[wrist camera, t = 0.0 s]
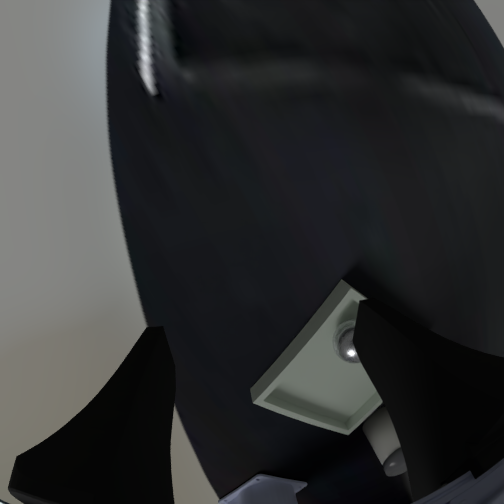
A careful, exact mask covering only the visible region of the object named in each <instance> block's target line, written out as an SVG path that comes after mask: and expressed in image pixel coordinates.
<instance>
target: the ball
mask: <svg viewBox="0 0 504 504" xmlns="http://www.w3.org/2000/svg"><path fill="white" fill-rule="evenodd" d="M355 323H356V318H351V319H348V320H346V321H344V322H342V323H341V324H340V325H339V326H338V327H337V329H336V330H335V332H334V335H333V341H332V343H333V349H334V351H335V353H336V355H337V356H338V357H339V358H340V359H341V360H343V361H345V362H347V363H352V364H355V363H361V362H360V360H359V357H358V355H357V352H356V350H355V347H354V344H353V342H352V339H353V334H354V329H355Z"/></svg>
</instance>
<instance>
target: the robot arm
mask: <svg viewBox="0 0 504 504" xmlns="http://www.w3.org/2000/svg"><path fill="white" fill-rule="evenodd" d="M352 342H353V344H354V347H355V350H356V352H357V355H358V357H359V360H360V362H361V364H362V366H363V368H364V369H365V371H366V373H367V375H368V376H369V378H370V380H371V382H372V383H373V385H374V387H375V389H376V391H377V392H378V394H379V396H380V398H381V399H382V401H383V403H384V405H385V407H386V409H387V411H388V413H389V416H390V418H391V421H392V423H393V426H394V428H395V431H396V434H397V437H398V440H399V443H400V446H401V449H402V452H403V456H404V459H405V463H406V467H407V471H408V476H409V481H410V485H411V491H412V497H413V499H414V501H415V502H414V503H412V504H504V357H499V356H495V355H491V354H487V353H483V352H480V351H477V350H474V349H471V348H468V347H465V346H463V345H460V344H458V343H456V342H453V341H451V340H448V339H446V338H444V337H442V336H440V335H438V334H436V333H434V332H432V331H430V330H428V329H427V328H425V327H423V326H421V325H419V324H418V323H416V322H414V321H412V320H411V319H409V318H407V317H406V316H404V315H402V314H401V313H399V312H397V311H396V310H394V309H392V308H391V307H389V306H387V305H386V304H384V303H382V302H380V301H378V300H377V299H375V298H370V299H364V300H359V306H358V312H357V317H356V323H355V329H354V334H353V339H352ZM175 391H176V379H175V364H174V361H173V358H172V354H171V351H170V348H169V345H168V341H167V338H166V335H165V331H164V328H163V326H159V327H147V328H146V329H145V330H144V332H143V333H142V335H141V336H140V338H139V339H138V341H137V342H136V343H135V345H134V346H133V348H132V349H131V351H130V353H129V354H128V355H127V357H126V358H125V359H124V361H123V362H122V364H121V365H120V366H119V368H118V369H117V370H116V372H115V373H114V374H113V376H112V377H111V378H110V379H109V381H108V382H107V383H106V384H105V386H104V387H103V388H102V389H101V390H100V392H99V393H98V394H97V395H96V396H95V397H94V398H93V399H92V401H90V402H89V403H88V405H87V406H86V407H85V408H84V409H82V410H81V411H80V412H79V413H78V414H77V415H76V416H75V417H73V418H72V419H71V420H70V421H69V422H68V423H67V424H66V425H64V426H63V427H62V428H60V429H59V430H58V431H57V432H55V433H54V434H52V435H51V436H50V437H48V438H47V439H45V440H44V441H43V442H41V443H39V444H38V445H36V446H34V447H33V448H31V449H29V450H27V451H26V452H24V453H22V454H20V455H18V456H17V457H16V460H15V463H14V467H13V470H12V474H11V478H10V482H9V486H8V490H9V492H10V494H11V495H13V496H14V497H15V498H16V499H18V500H19V501H21V502H22V503H24V504H174V497H173V487H172V475H171V456H170V445H171V430H172V420H173V411H174V401H175ZM306 486H307V482H303V481H296V480H291V479H285V478H280V477H275V476H270V475H265V474H257V475H256V476H254V477H253V478H252V479H250V480H249V481H247V482H246V483H244V484H243V485H242V486H240V487H239V488H237V489H236V490H234V491H233V492H231V493H230V494H228V495H227V496H225V497H223V498H222V499H220V500H219V501H218V503H219V504H298V502H297V499H296V495H295V493H296V492H298V491H300V490H301V489H303V488H304V487H306Z"/></svg>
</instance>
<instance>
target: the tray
mask: <svg viewBox="0 0 504 504" xmlns="http://www.w3.org/2000/svg"><path fill="white" fill-rule="evenodd" d="M364 299H368V298H366V297H365V296H364V295H362V294H361V293H360V292H358V291H357V290H356V289H354V288H353V287H352V286H350V285H349V284H348V283H346V282H345V281H343V280H342V279H341V280H340V282H339V283H338V284H337V286H336V287H335V288H334V290H333V291H332V292H331V294H330V295H329V296H328V298H327V299H326V300H325V301H324V303H323V304H322V305H321V307H320V308H319V309H318V310H317V312H316V313H315V314H314V315H313V317H312V318H311V319H310V320H309V322H308V323H307V324H306V325H305V327H304V328H303V329H302V330H301V331H300V333H299V334H298V335H297V336H296V337H295V339H294V340H293V341H292V342H291V343H290V345H289V346H288V347H287V348H286V349H285V350H284V352H283V353H282V354H281V355H280V356H279V357H278V359H277V360H276V361H275V362H274V363H273V364H272V365H271V367H270V368H269V369H268V370H267V371H266V372H265V373H264V375H263V376H262V377H261V378H260V379H259V380H258V381H257V382H256V383H255V384H254V386H253V387H252V388H251V389H250V391H251V396H252V401H253V403H254V404H257V405H259V406H262V407H264V408H267V409H270V410H272V411H275V412H278V413H280V414H283V415H286V416H289V417H291V418H294V419H297V420H300V421H303V422H306V423H309V424H312V425H316V426H319V427H322V428H325V429H329V430H332V431H335V432H339V433H342V434H346V435H349V434H350V433H351V432H352V431H353V430H354V429H355V428H357V427H358V426H359V425H360V424H361V423H362V422H363V421H364V420H365V419H366V418H367V417H368V416H369V415H370V414H371V413H372V412H373V411H374V410H375V409H376V408H377V407H378V406H379V405H380V404H381V403H382V402H383V401H382V399H381V398H380V396H379V394H378V392H377V391H376V389H375V387H374V385H373V383H372V382H371V380H370V378H369V376H368V375H367V373H366V371H365V369H364V368H363V366H362V364H361V363H355V364H352V363H347V362H345V361H343V360H341V359H340V358H339V357H338V356H337V355H336V353H335V351H334V349H333V343H332V341H333V335H334V332H335V330H336V329H337V327H338V326H339V325H340V324H341V323H342V322H344V321H346V320H348V319H351V318H356V317H357V312H358V306H359V300H364Z"/></svg>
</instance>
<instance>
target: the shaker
mask: <svg viewBox="0 0 504 504" xmlns="http://www.w3.org/2000/svg"><path fill="white" fill-rule="evenodd" d="M363 432H364V433H365V435H366V437H367V439H368V440H369V442H370V444H371V446H372V448H373V449H374V451H375V453H376V455H377V457H378V458H379V460H380V462H381V464H382V465H383V466H382V467H383V469H384V471H385V473H386V475H387V476H395V475H399V474H401V473H403V472H405V471H407V467H406V463H405V459H404V456H403V452H402V449H401V446H400V443H399V440H398V437H397V434H396V431H395V428H394V426H393V423H392V421H391V418H390V416H389V413H388V411H387V409H386V407H383V408H380V409H379V410H377V411H375V412H374V413H373V414H371V415H370V416H369V417H368V418H367V420H366V421H365V422H364V424H363Z"/></svg>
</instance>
